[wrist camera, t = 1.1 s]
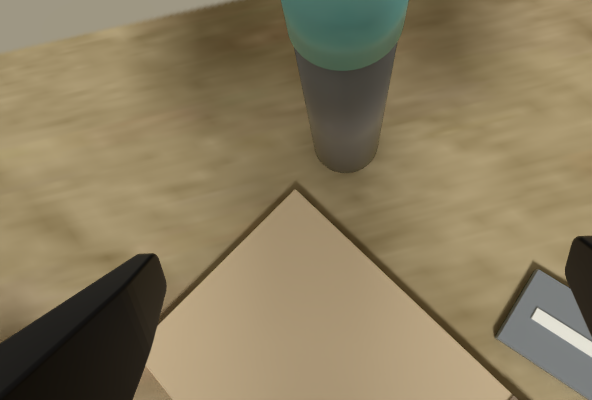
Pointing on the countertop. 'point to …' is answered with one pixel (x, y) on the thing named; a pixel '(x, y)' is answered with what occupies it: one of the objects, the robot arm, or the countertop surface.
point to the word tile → (551, 332)
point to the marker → (345, 72)
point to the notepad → (308, 326)
